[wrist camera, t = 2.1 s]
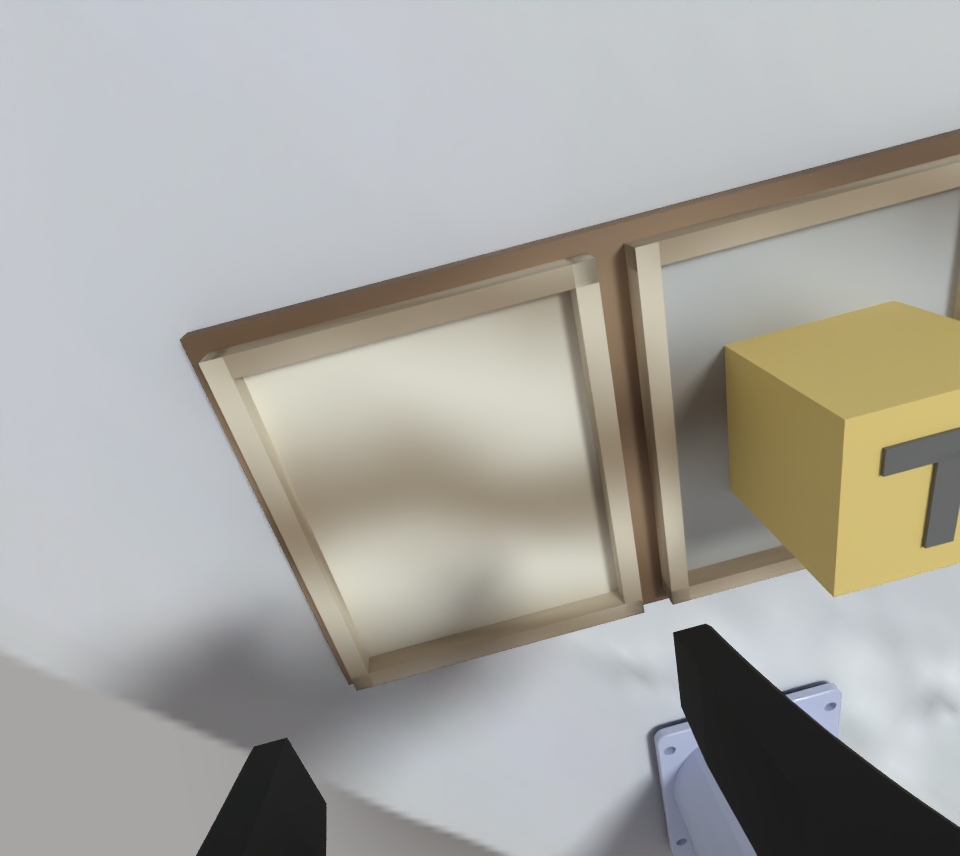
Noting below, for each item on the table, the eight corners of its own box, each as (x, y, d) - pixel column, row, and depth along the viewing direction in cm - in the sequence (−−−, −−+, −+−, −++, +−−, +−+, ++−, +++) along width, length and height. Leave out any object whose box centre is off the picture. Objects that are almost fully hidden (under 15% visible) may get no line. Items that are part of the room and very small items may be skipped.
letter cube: (879, 449, 19) (1032, 546, 14) (730, 489, 19) (836, 600, 14) (893, 300, 17) (1081, 359, 12) (724, 345, 17) (848, 421, 12)
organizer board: (1170, 448, 21) (1218, 467, 20) (349, 671, 21) (347, 704, 20) (1320, 33, 16) (1400, 24, 14) (187, 332, 15) (168, 349, 14)
